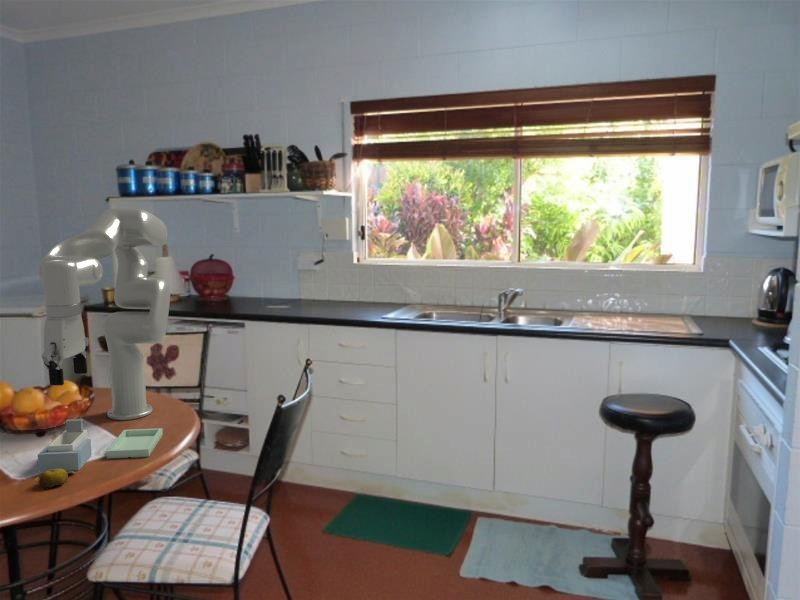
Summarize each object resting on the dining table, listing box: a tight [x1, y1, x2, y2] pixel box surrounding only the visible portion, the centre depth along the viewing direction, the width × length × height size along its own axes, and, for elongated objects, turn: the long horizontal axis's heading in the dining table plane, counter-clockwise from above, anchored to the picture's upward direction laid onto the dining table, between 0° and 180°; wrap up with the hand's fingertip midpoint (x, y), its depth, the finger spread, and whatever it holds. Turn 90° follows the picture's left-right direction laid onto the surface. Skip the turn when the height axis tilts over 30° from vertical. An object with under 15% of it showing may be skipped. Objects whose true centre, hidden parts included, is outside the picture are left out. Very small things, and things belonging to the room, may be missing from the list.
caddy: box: [47, 418, 89, 452], centre depth 152 cm, size 10×6×9 cm, turn 8°
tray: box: [105, 427, 164, 460], centre depth 162 cm, size 15×10×2 cm
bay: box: [37, 438, 93, 473], centre depth 150 cm, size 9×9×4 cm
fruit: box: [34, 469, 76, 490], centre depth 141 cm, size 8×8×4 cm
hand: (69, 379), depth 150 cm, fingers open, 9 cm apart
